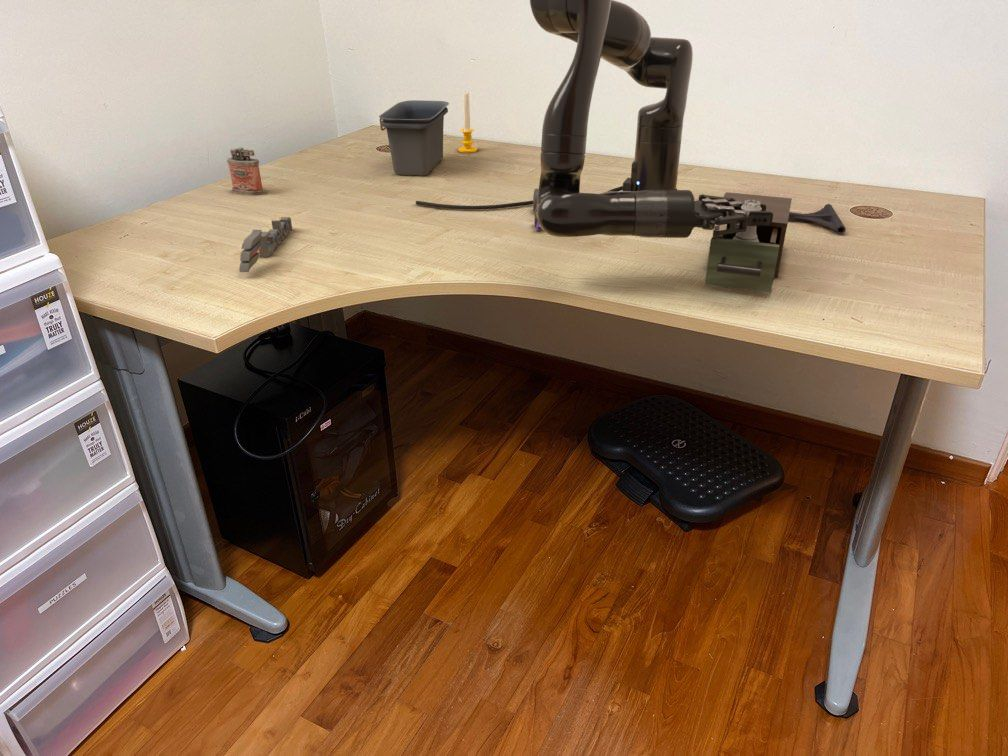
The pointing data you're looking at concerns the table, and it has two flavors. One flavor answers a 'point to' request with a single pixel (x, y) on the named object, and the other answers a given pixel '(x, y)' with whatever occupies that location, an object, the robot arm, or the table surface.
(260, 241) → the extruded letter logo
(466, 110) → the candle
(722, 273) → the drawer
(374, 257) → the table surface
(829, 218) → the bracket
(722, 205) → the robot arm
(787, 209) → the cabinet
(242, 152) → the lighter
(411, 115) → the storage bin
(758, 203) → the rook chess piece
